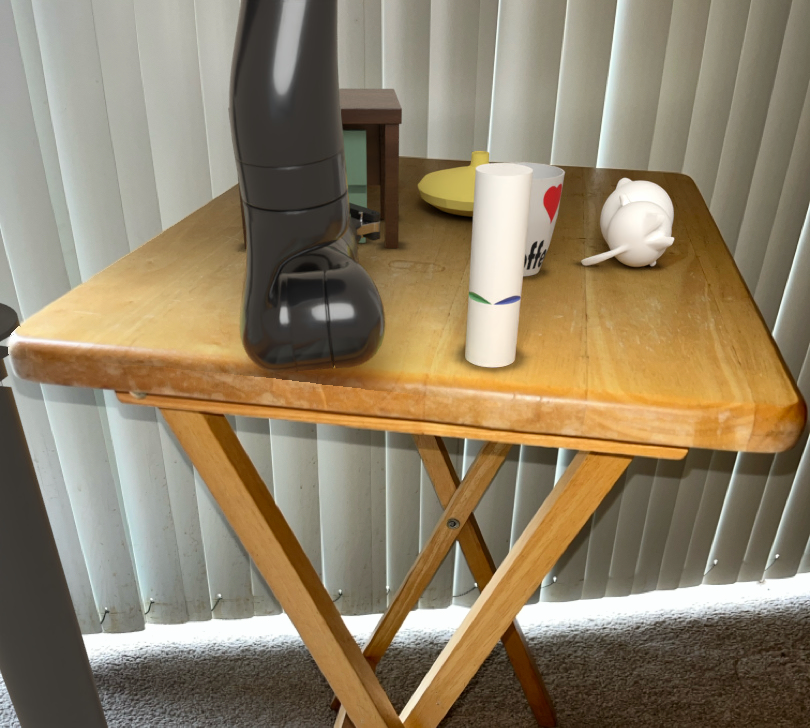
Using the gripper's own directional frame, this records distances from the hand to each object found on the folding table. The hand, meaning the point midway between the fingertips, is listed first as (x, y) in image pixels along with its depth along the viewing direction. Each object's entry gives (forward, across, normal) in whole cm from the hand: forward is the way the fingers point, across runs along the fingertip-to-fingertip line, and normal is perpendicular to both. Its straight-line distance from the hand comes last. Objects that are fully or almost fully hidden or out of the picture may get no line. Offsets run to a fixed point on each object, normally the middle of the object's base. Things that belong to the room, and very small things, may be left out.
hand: (318, 202), depth 89 cm
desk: (+11, 0, +6) cm, 13 cm away
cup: (-3, -21, +6) cm, 22 cm away
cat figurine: (-1, -34, +6) cm, 34 cm away
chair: (+11, 0, +6) cm, 13 cm away
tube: (-27, -15, +6) cm, 31 cm away
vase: (+20, -20, +6) cm, 29 cm away
